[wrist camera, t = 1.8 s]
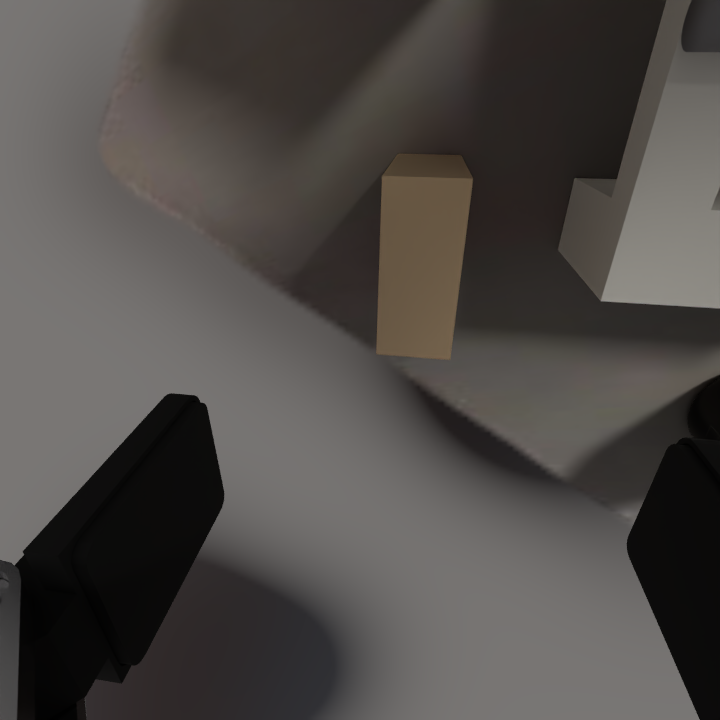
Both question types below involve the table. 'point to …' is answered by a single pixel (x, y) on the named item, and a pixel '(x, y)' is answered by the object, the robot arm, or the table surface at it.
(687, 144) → the white frame with rod
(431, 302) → the tan c-channel block
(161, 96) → the table surface
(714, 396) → the supplement bottle
